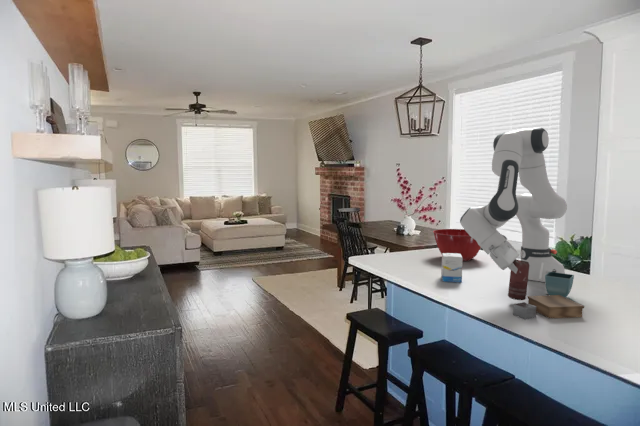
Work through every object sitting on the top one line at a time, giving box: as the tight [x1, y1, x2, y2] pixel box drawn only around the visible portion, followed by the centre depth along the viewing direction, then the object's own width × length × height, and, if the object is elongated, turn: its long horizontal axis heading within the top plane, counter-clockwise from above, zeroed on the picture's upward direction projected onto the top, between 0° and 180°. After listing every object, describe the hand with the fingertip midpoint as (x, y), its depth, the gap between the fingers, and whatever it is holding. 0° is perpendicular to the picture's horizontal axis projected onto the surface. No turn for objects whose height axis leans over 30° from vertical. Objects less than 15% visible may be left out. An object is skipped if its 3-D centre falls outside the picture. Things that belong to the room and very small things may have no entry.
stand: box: [526, 294, 585, 319], centre depth 148 cm, size 13×13×4 cm
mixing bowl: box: [432, 228, 482, 262], centre depth 237 cm, size 28×28×16 cm
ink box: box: [440, 253, 464, 283], centre depth 191 cm, size 9×8×12 cm
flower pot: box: [544, 272, 575, 298], centre depth 165 cm, size 9×9×9 cm
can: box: [507, 259, 530, 301], centre depth 156 cm, size 6×6×14 cm
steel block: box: [512, 301, 537, 321], centre depth 144 cm, size 5×5×4 cm
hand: (520, 272), depth 156 cm, fingers closed on can, 4 cm apart
